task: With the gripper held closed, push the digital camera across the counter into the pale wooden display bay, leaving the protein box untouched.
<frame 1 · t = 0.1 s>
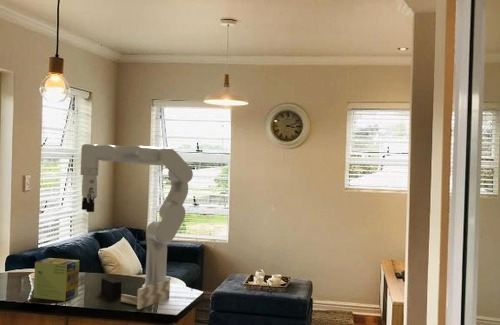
hand: (87, 210, 227), 37 cm above the kitchen counter, tool pointing down, fingers open, 9 cm apart
display bay: (141, 300, 221), on the kitchen counter
digital camera: (112, 295, 228), on the kitchen counter
protein box: (56, 297, 222), on the kitchen counter
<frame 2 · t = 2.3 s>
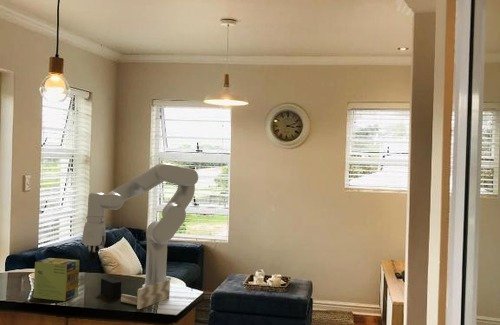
hand: (93, 260, 232), 14 cm above the kitchen counter, tool pointing down, fingers closed
nothing on the kitchen counter moved.
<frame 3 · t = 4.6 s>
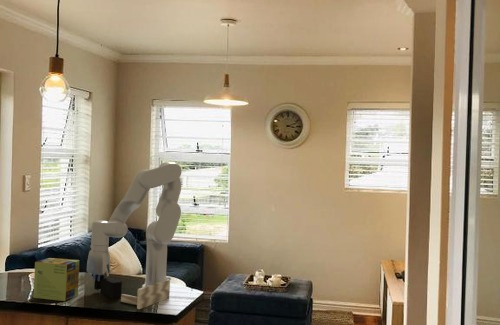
hand: (98, 288, 231), 2 cm above the kitchen counter, tool pointing down, fingers closed
digital camera: (112, 296, 227), on the kitchen counter, touching gripper
everything else where it was.
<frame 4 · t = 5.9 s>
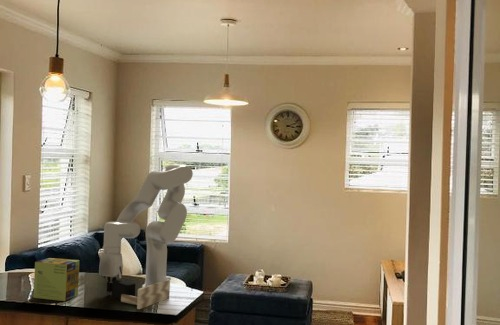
hand: (110, 291, 228), 2 cm above the kitchen counter, tool pointing down, fingers closed
digital camera: (124, 298, 224), on the kitchen counter, touching gripper
everything else where it was.
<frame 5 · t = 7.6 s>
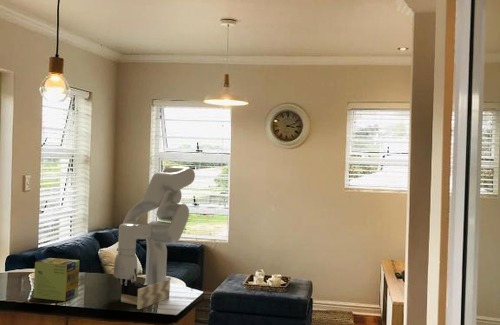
hand: (125, 293, 224), 2 cm above the kitchen counter, tool pointing down, fingers closed
digital camera: (139, 301, 220), on the kitchen counter, touching gripper
everything else where it was.
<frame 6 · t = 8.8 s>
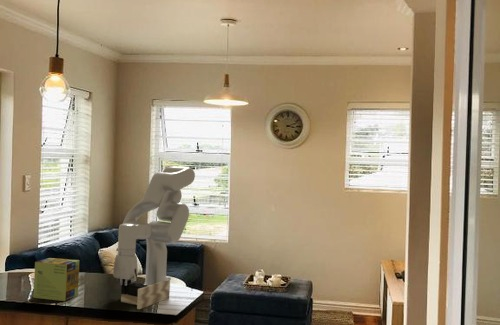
hand: (125, 293, 224), 2 cm above the kitchen counter, tool pointing down, fingers closed
digital camera: (140, 301, 220), on the kitchen counter
everything else where it was.
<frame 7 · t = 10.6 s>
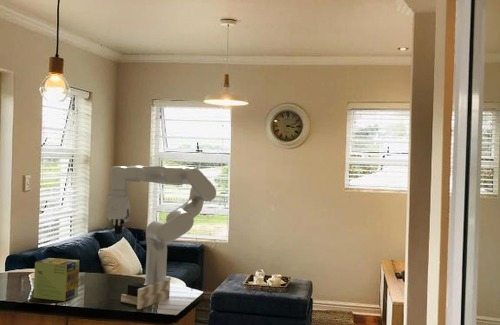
hand: (118, 233, 232), 27 cm above the kitchen counter, tool pointing down, fingers closed
nothing on the kitchen counter moved.
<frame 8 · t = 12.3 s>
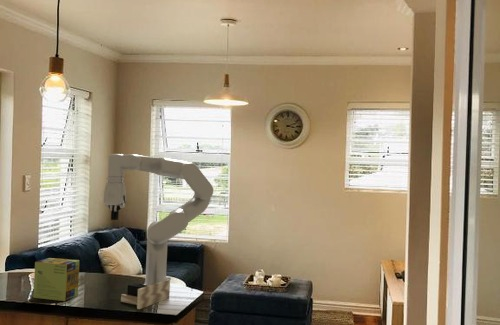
hand: (114, 219, 239), 32 cm above the kitchen counter, tool pointing down, fingers closed
nothing on the kitchen counter moved.
at the end: digital camera inside the target area (1.1 cm from its centre), on the kitchen counter; digital camera tilted 0°; protein box moved 0.3 cm from its start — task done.
